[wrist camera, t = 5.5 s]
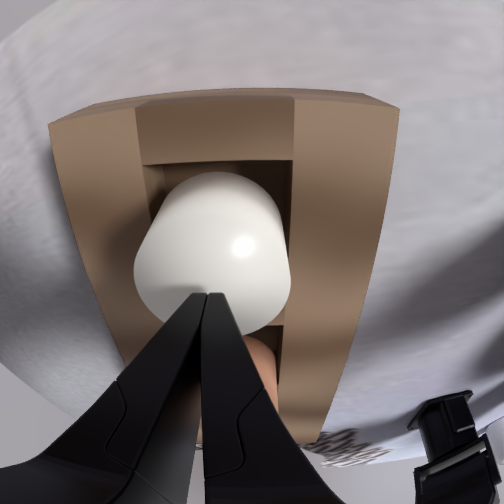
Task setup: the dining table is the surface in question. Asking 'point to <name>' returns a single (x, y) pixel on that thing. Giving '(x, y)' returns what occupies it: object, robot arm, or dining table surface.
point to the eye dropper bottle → (497, 439)
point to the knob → (216, 250)
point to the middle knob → (263, 366)
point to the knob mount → (265, 175)
